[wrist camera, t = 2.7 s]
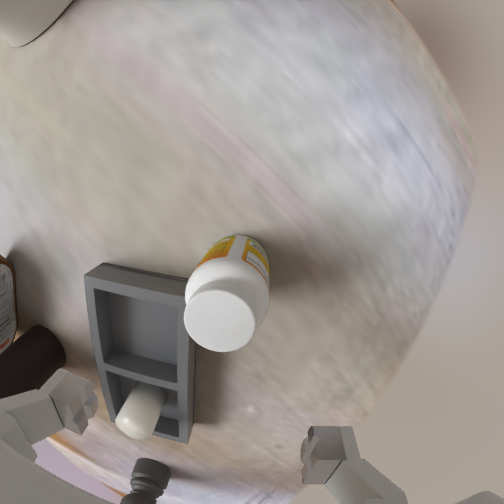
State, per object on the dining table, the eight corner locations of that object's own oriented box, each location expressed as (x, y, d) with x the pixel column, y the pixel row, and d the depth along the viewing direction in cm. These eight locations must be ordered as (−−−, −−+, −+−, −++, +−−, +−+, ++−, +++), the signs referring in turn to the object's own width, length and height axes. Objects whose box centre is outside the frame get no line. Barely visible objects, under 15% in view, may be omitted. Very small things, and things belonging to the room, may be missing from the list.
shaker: (133, 375, 28) (112, 410, 22) (166, 384, 28) (149, 423, 22) (136, 398, 29) (118, 432, 23) (167, 406, 29) (153, 444, 23)
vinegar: (35, 314, 28) (-65, 402, 9) (72, 350, 29) (-18, 457, 10) (28, 342, 30) (-54, 422, 10) (61, 374, 31) (-13, 467, 11)
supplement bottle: (202, 287, 25) (168, 350, 16) (211, 228, 23) (174, 267, 14) (262, 299, 25) (258, 370, 16) (275, 240, 23) (279, 289, 14)
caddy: (103, 262, 25) (83, 275, 22) (200, 281, 25) (190, 298, 21) (121, 403, 31) (111, 421, 27) (193, 423, 31) (187, 443, 27)
